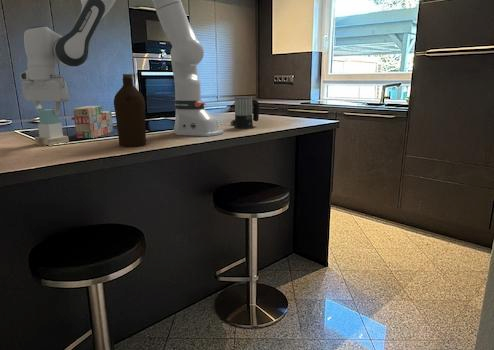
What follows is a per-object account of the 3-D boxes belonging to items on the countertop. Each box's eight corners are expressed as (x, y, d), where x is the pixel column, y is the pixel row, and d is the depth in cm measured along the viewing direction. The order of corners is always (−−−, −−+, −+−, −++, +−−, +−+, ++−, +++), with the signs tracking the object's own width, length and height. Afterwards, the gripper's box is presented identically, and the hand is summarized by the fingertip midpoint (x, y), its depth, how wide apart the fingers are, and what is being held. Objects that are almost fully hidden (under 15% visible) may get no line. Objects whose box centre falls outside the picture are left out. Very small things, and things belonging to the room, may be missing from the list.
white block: (63, 136, 138) (61, 122, 137) (50, 138, 133) (48, 124, 132) (52, 135, 140) (50, 122, 139) (39, 137, 135) (37, 123, 134)
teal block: (59, 123, 136) (57, 109, 134) (48, 124, 132) (46, 110, 131) (51, 122, 138) (49, 109, 136) (40, 123, 134) (37, 110, 132)
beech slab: (69, 143, 139) (68, 136, 138) (50, 147, 132) (48, 139, 131) (55, 142, 142) (53, 134, 142) (35, 145, 136) (34, 137, 135)
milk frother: (246, 129, 174) (246, 97, 170) (219, 126, 183) (219, 96, 179) (261, 126, 186) (261, 96, 182) (236, 124, 194) (235, 95, 190)
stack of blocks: (100, 131, 168) (97, 104, 165) (113, 131, 168) (111, 104, 164) (76, 139, 147) (72, 108, 144) (91, 139, 147) (88, 108, 144)
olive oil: (153, 144, 134) (148, 74, 127) (125, 148, 127) (119, 74, 120) (139, 141, 141) (134, 74, 135) (112, 144, 134) (105, 74, 128)
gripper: (71, 74, 129) (75, 114, 132) (32, 75, 137) (38, 112, 141) (55, 74, 123) (60, 116, 127) (16, 74, 132) (22, 113, 135)
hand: (48, 114), depth 134 cm, fingers open, 7 cm apart
